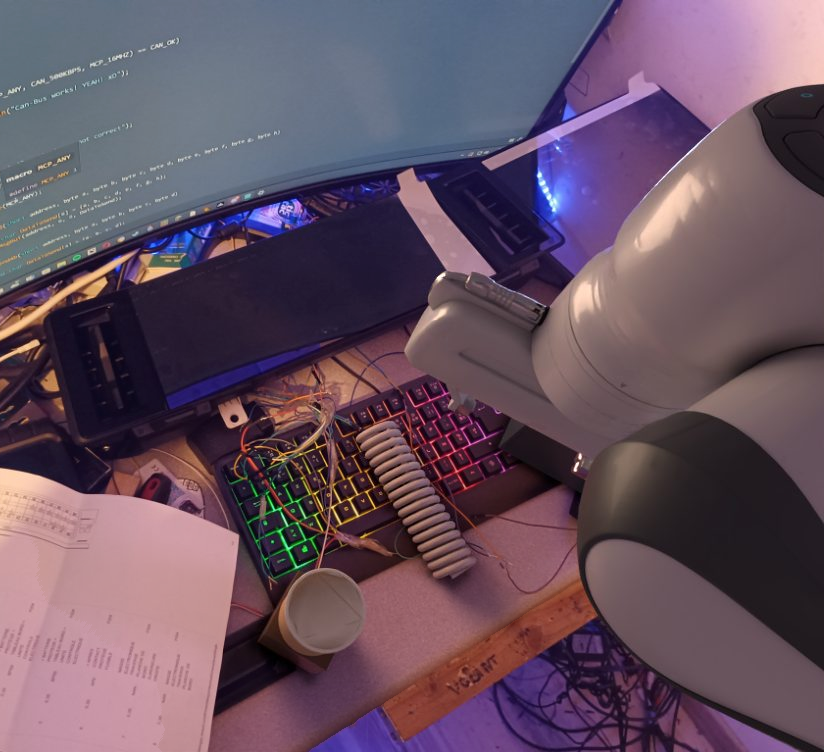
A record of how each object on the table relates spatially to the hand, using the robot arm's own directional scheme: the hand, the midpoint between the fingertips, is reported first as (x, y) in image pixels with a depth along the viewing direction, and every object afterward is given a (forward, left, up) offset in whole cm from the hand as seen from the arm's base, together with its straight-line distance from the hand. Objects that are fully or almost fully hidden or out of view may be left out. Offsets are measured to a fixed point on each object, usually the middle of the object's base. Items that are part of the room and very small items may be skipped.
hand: (520, 436), depth 50 cm
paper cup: (+6, +15, -19) cm, 25 cm away
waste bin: (-10, -18, -30) cm, 36 cm away
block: (+6, +15, -30) cm, 34 cm away
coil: (+1, -2, -30) cm, 30 cm away
